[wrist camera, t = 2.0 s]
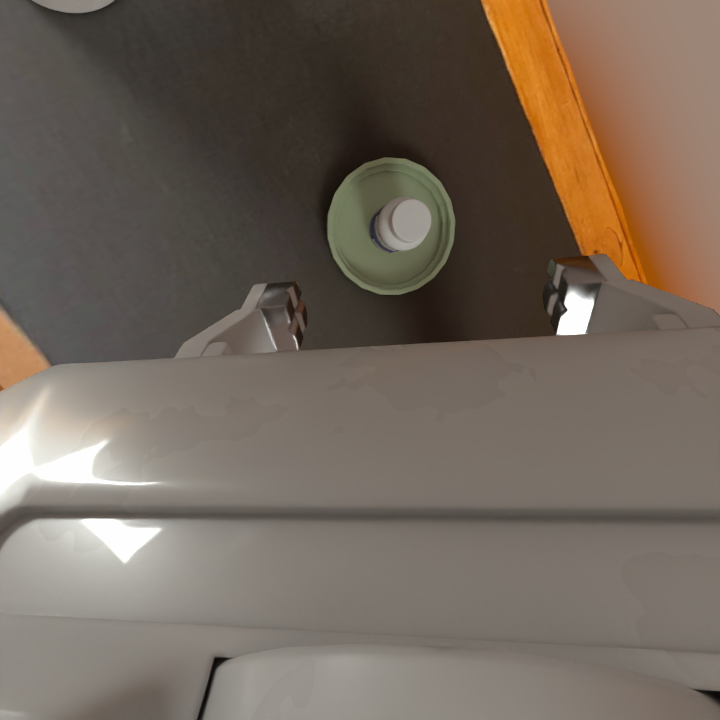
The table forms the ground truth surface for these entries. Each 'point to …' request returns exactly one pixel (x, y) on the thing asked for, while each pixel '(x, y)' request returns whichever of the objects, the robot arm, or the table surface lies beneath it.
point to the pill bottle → (400, 225)
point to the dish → (358, 206)
